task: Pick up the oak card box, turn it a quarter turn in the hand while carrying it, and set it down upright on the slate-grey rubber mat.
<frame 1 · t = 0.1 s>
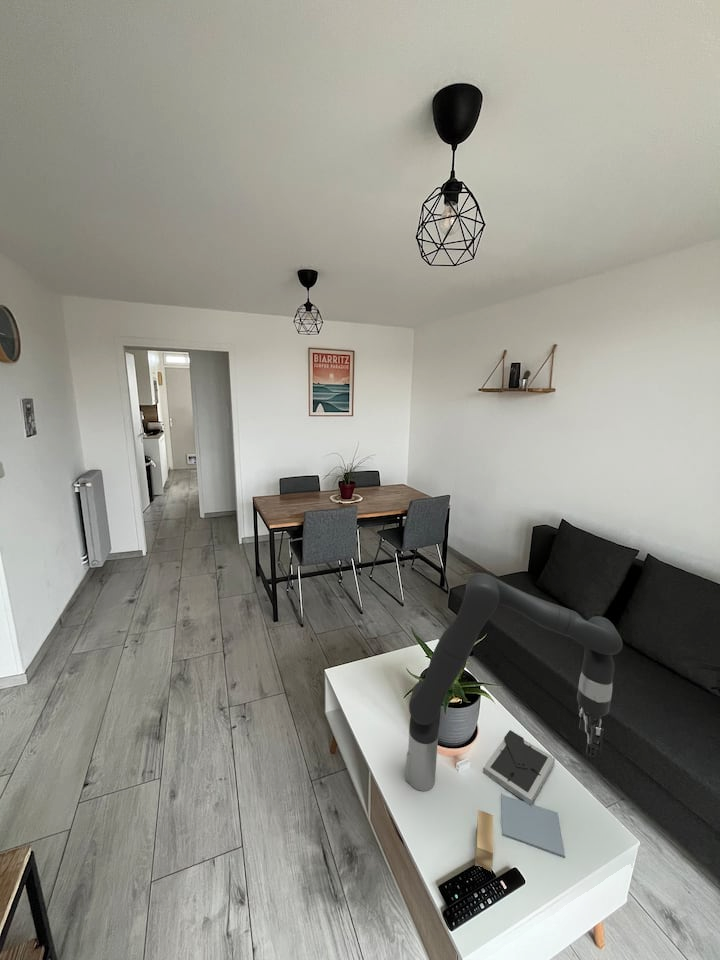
hand: (586, 742, 103), 29 cm above the table, fingers open, 8 cm apart
slate mat: (530, 824, 109), on the table
oak card box: (483, 851, 102), on the table
picture frame: (519, 768, 127), on the table, touching slate mat
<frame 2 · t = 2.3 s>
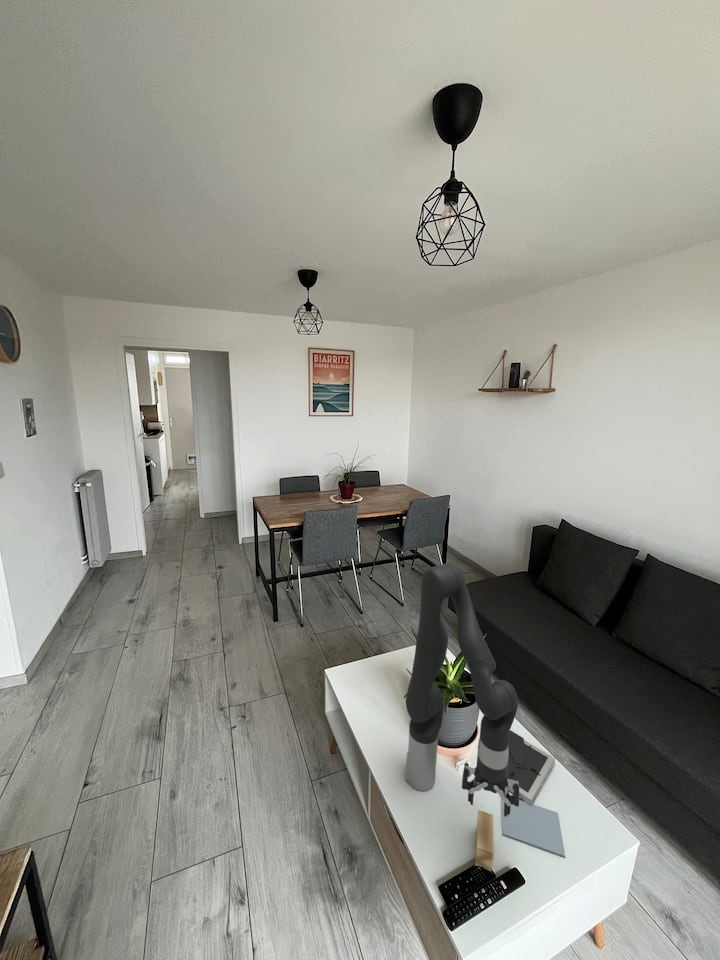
hand: (488, 807, 100), 14 cm above the table, fingers open, 8 cm apart
nothing on the table moved.
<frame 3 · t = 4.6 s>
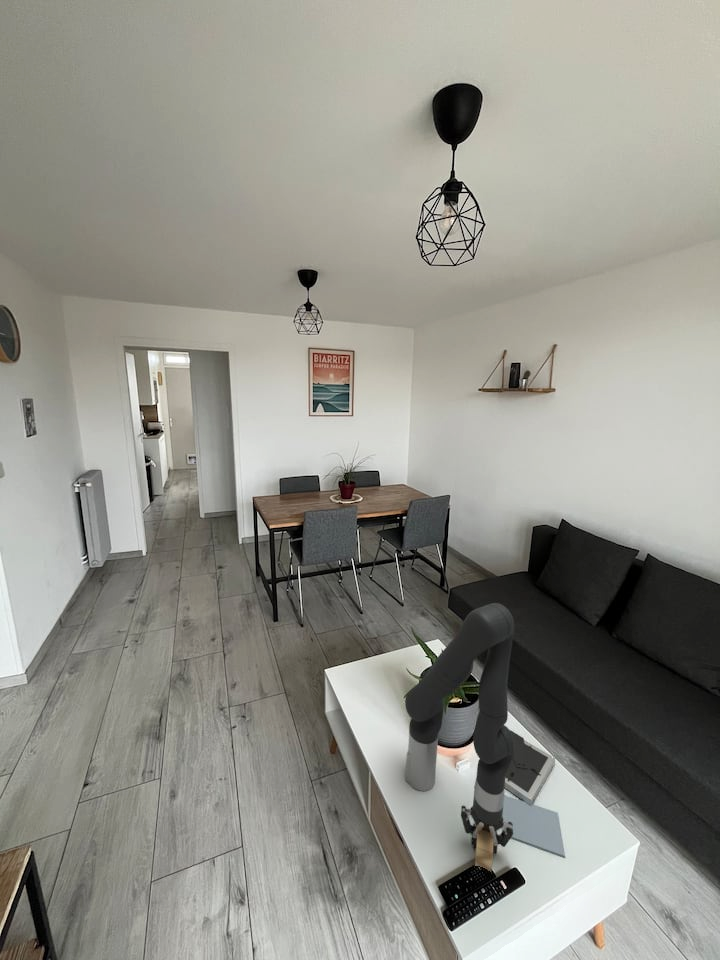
hand: (483, 848, 102), 1 cm above the table, fingers closed on oak card box, 4 cm apart
oak card box: (483, 850, 102), on the table, touching gripper
everything else where it was.
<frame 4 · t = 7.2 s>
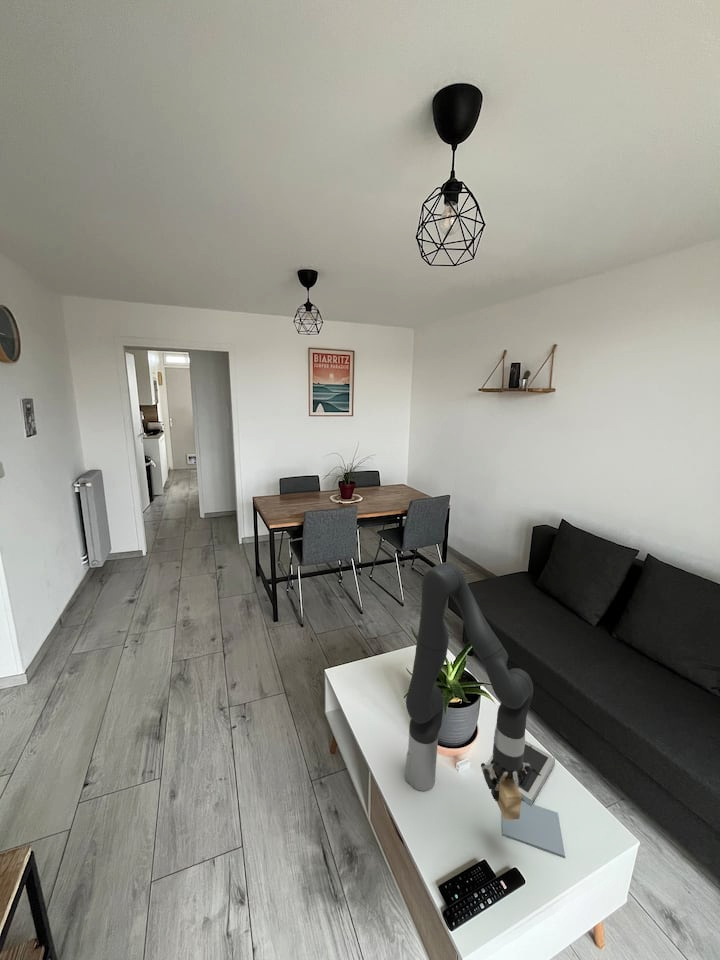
hand: (503, 797, 102), 15 cm above the table, fingers closed on oak card box, 4 cm apart
oak card box: (503, 800, 102), point 15 cm above the table, touching gripper
everything else where it was.
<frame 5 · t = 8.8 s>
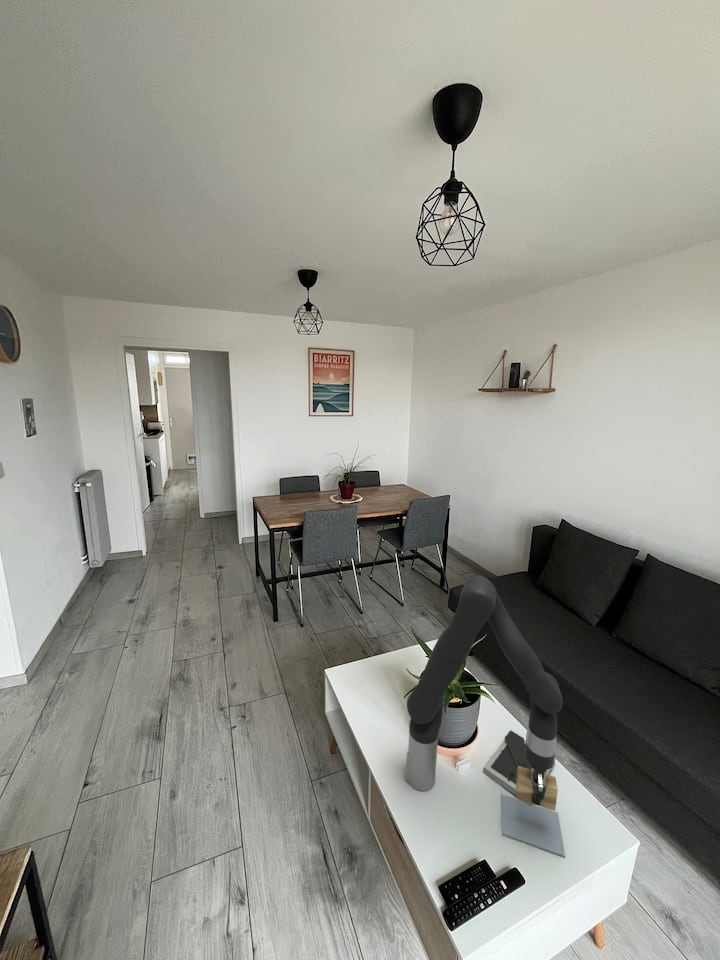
hand: (534, 795, 107), 10 cm above the table, fingers closed on oak card box, 4 cm apart
oak card box: (534, 798, 107), point 10 cm above the table, touching gripper
everything else where it was.
when the fingers open (3 cm above the table, at t = 10.2 s): oak card box drops 1 cm, resting on slate mat.
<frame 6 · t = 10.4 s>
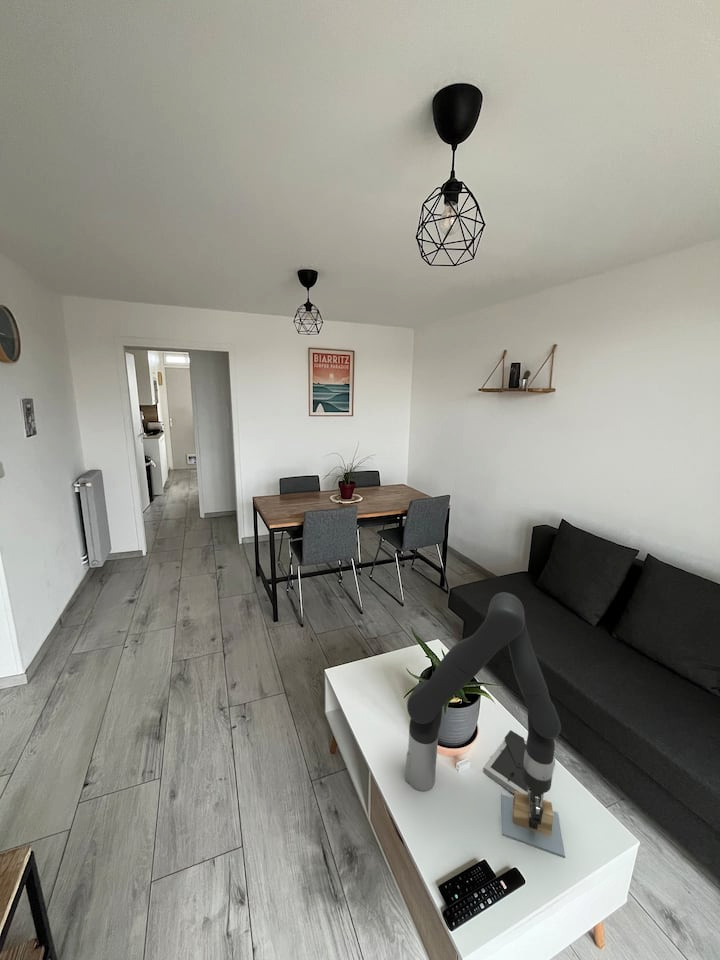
hand: (531, 815, 109), 3 cm above the table, fingers open, 6 cm apart
oak card box: (530, 822, 109), point 1 cm above the table, touching slate mat
everything else where it was.
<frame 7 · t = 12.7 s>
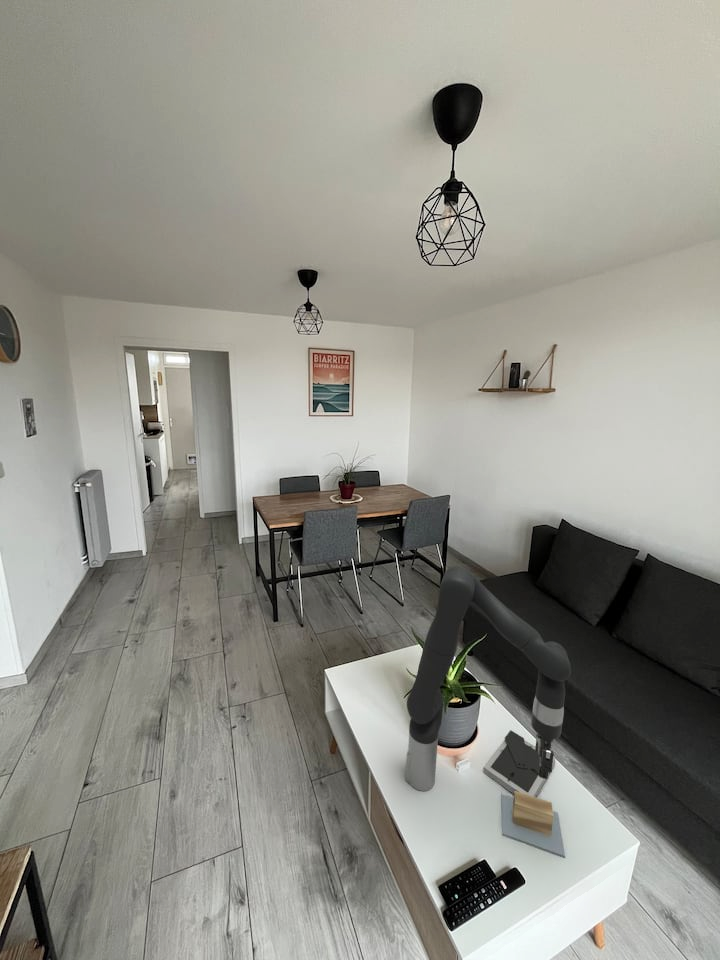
hand: (541, 763, 106), 21 cm above the table, fingers open, 8 cm apart
nothing on the table moved.
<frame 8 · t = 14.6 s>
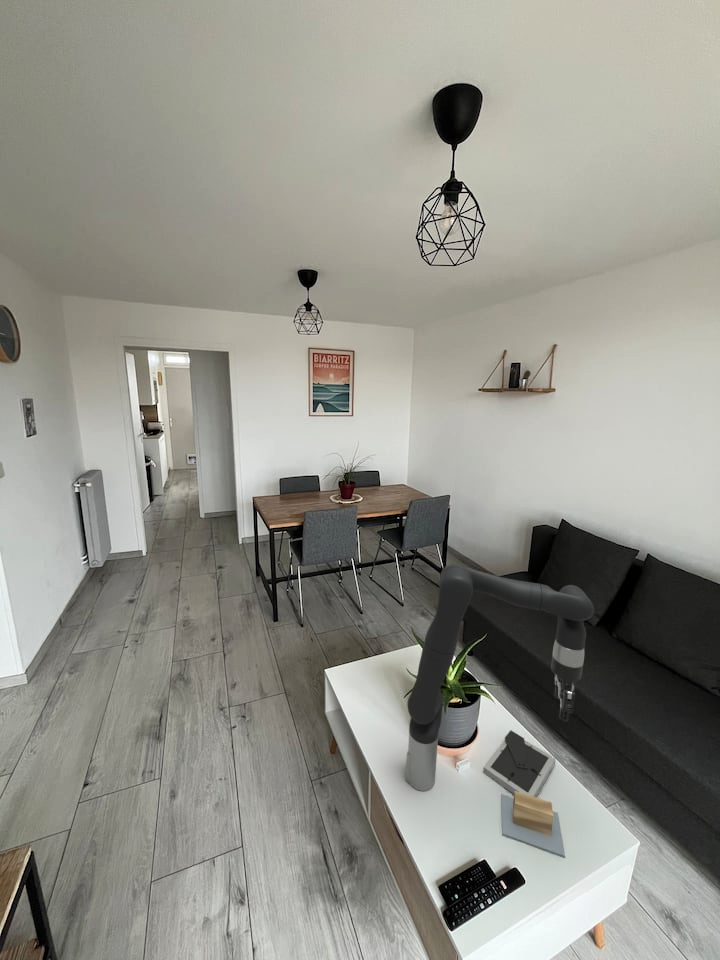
hand: (561, 708, 106), 36 cm above the table, fingers open, 8 cm apart
nothing on the table moved.
at the end: oak card box inside the target area (0.0 cm from its centre), point 0.6 cm above the table; oak card box tilted 0°; the gripper is holding nothing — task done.
